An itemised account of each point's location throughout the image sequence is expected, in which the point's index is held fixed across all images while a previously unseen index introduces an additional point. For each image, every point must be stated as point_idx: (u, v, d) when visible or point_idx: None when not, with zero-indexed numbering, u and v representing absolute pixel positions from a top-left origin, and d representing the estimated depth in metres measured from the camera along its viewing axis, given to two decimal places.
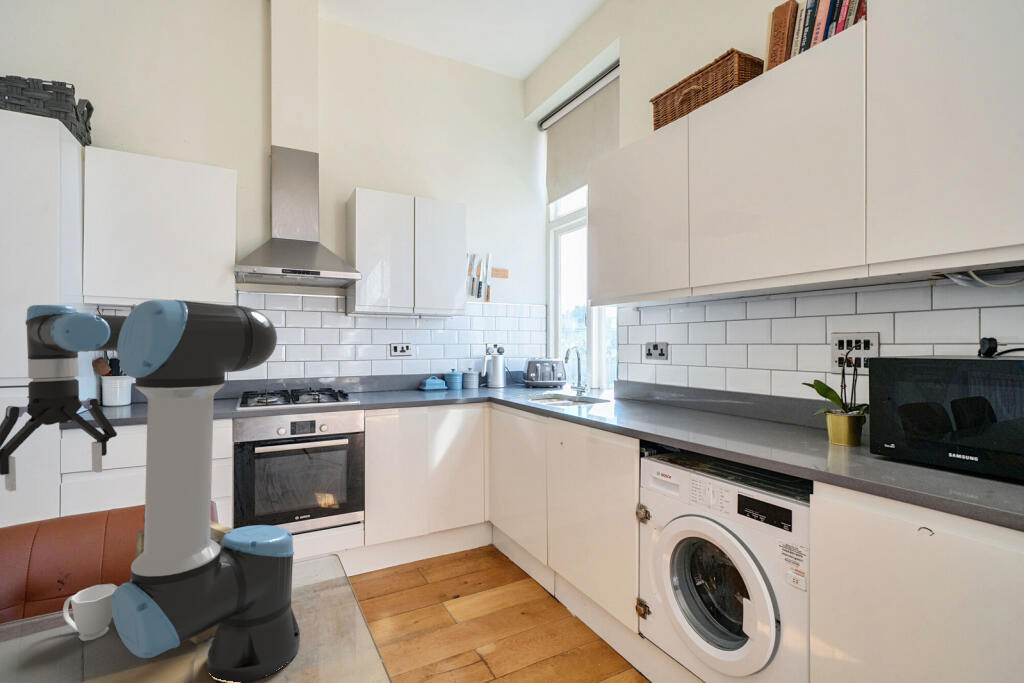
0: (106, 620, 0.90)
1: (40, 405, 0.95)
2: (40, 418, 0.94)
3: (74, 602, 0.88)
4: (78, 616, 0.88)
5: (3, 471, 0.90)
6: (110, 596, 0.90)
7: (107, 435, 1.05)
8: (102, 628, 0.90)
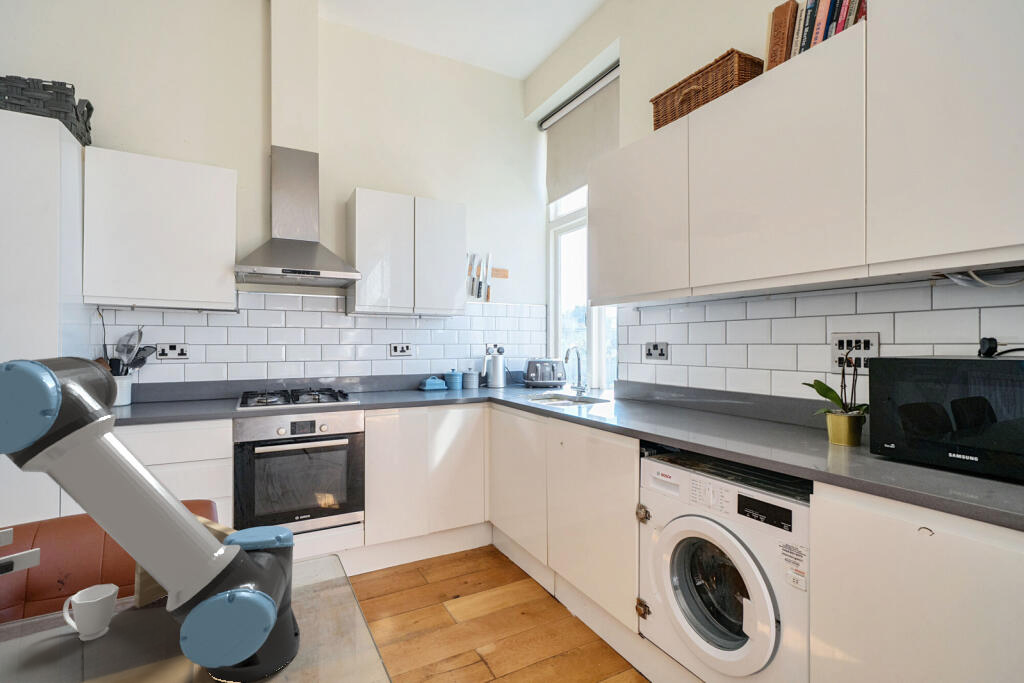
0: (106, 620, 0.90)
1: None
2: None
3: (74, 602, 0.88)
4: (78, 616, 0.88)
5: (7, 563, 0.75)
6: (110, 596, 0.90)
7: None
8: (102, 628, 0.90)
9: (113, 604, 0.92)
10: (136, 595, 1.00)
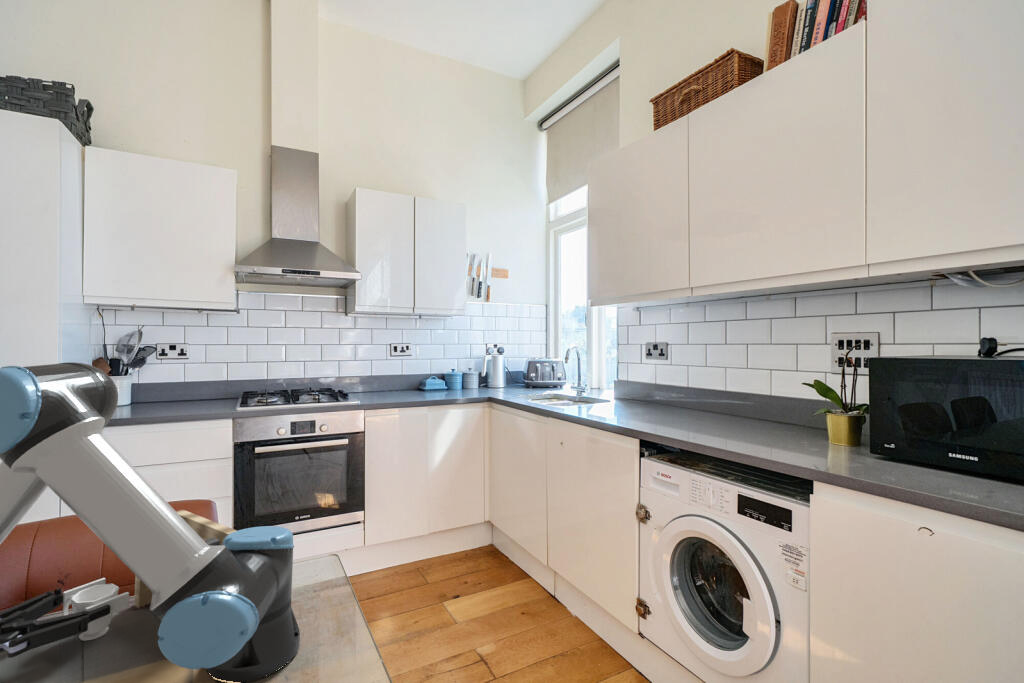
0: (106, 620, 0.90)
1: None
2: (21, 624, 0.81)
3: (74, 602, 0.88)
4: None
5: (105, 607, 0.88)
6: (110, 596, 0.90)
7: None
8: (102, 628, 0.90)
9: None
10: (136, 595, 1.00)
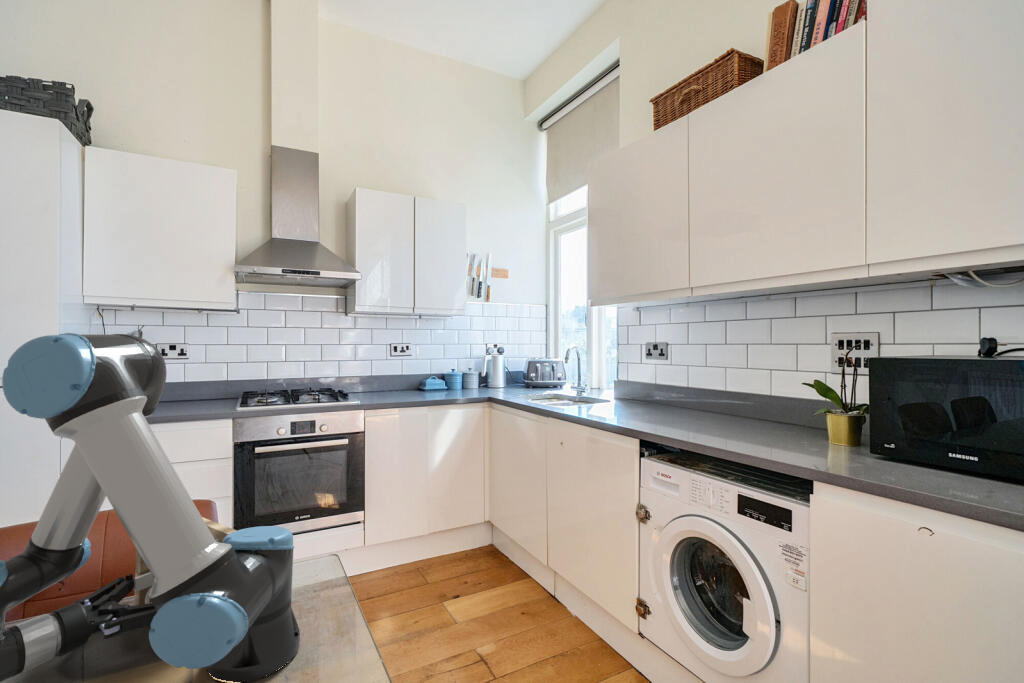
0: None
1: (96, 618, 0.83)
2: (115, 608, 0.85)
3: None
4: None
5: None
6: None
7: (123, 581, 0.95)
8: None
9: None
10: (136, 595, 1.00)
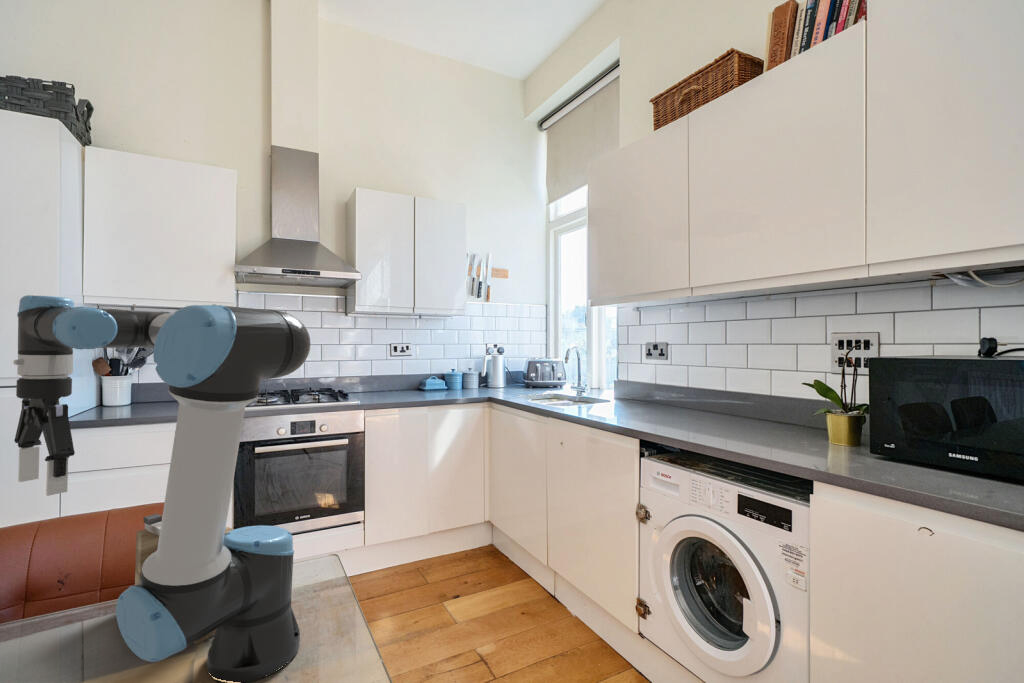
0: None
1: None
2: None
3: None
4: None
5: None
6: None
7: None
8: None
9: None
10: None
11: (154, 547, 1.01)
